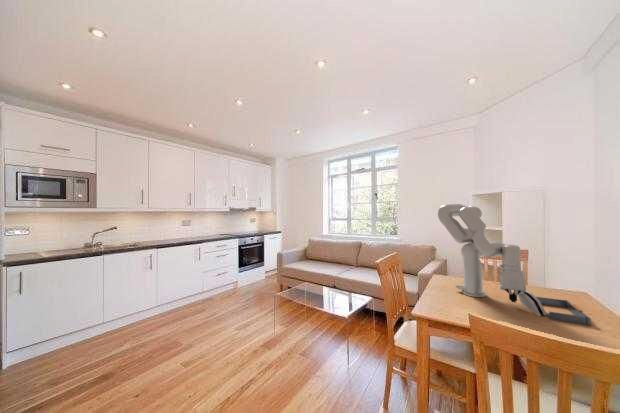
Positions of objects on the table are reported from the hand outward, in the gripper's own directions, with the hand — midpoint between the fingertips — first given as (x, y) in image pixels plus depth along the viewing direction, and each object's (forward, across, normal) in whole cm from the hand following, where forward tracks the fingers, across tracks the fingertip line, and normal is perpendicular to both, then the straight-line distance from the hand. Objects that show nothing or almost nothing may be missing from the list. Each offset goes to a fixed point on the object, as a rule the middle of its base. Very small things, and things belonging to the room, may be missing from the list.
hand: (513, 301), depth 126 cm
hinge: (+3, +7, 0) cm, 8 cm away
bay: (+3, +18, 0) cm, 18 cm away
